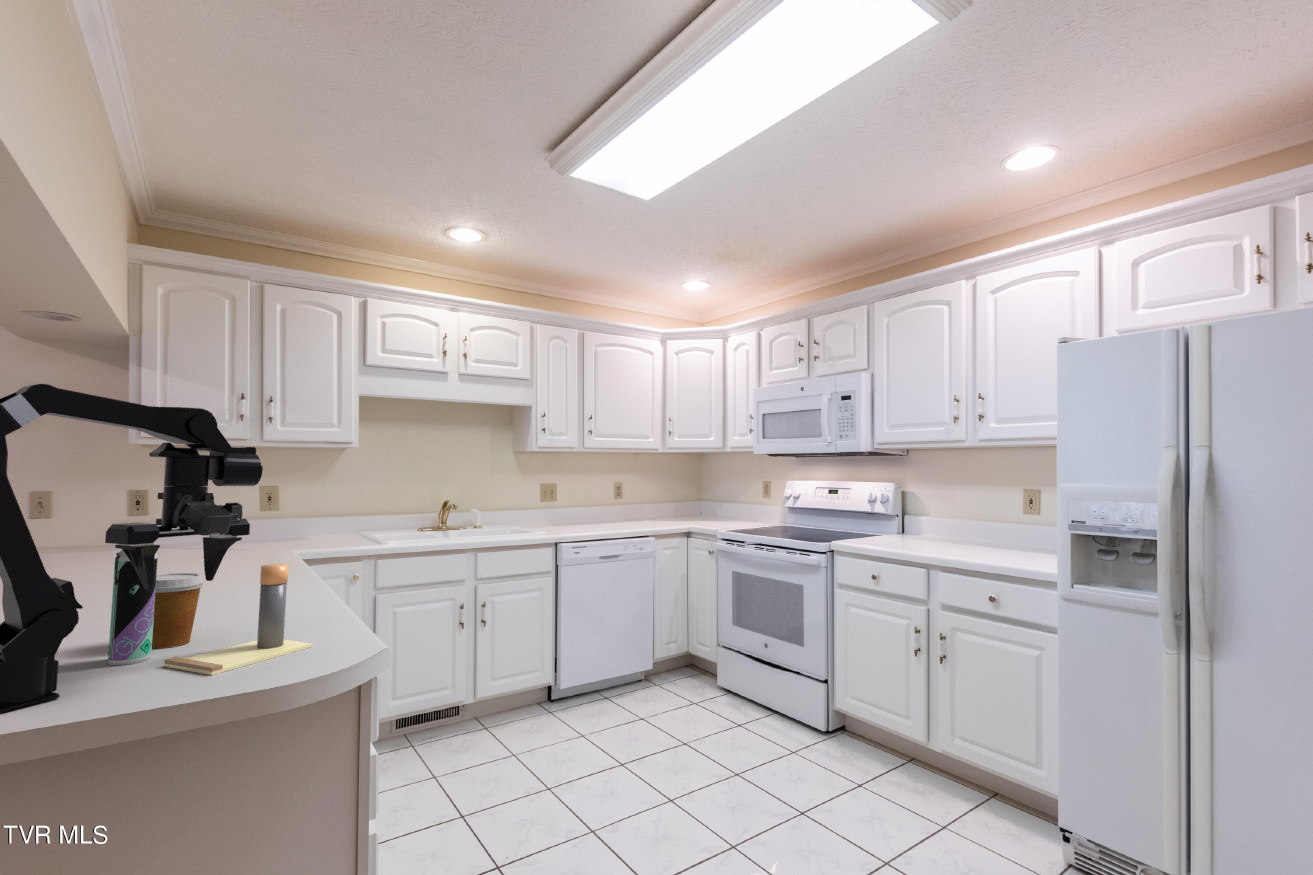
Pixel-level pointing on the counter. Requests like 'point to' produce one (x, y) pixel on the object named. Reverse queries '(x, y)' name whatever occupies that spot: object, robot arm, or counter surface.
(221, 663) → the legal pad
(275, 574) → the ball
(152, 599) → the spray can
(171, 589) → the disposable coffee cup
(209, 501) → the robot arm
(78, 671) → the counter surface
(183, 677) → the counter surface
